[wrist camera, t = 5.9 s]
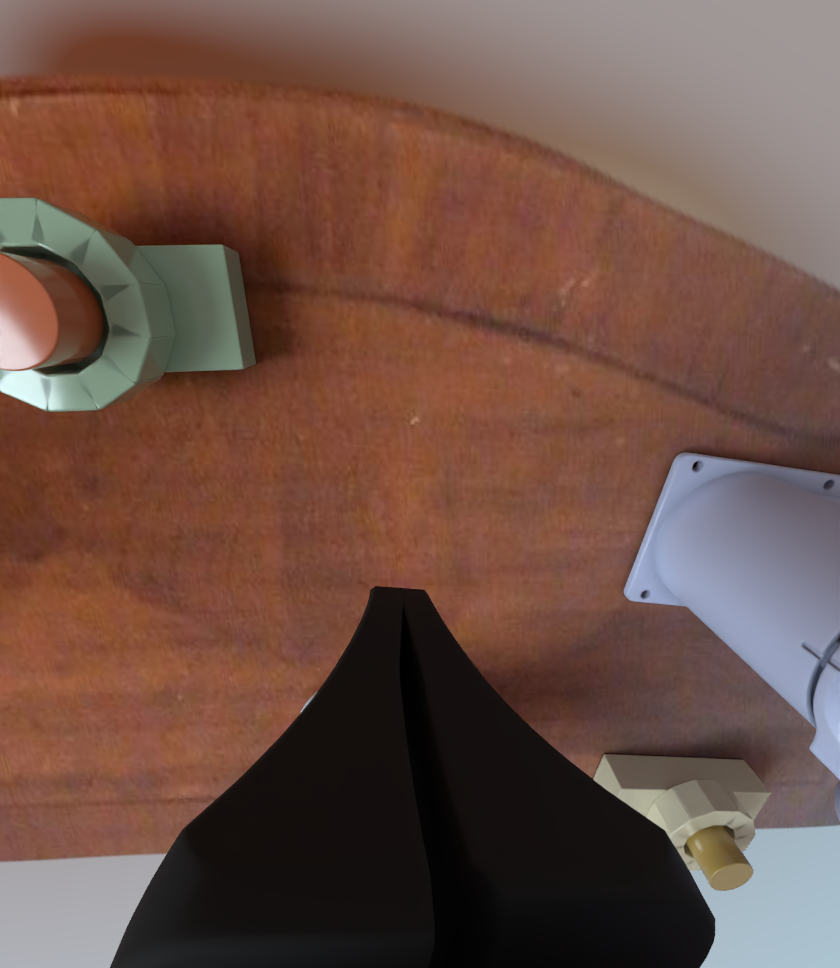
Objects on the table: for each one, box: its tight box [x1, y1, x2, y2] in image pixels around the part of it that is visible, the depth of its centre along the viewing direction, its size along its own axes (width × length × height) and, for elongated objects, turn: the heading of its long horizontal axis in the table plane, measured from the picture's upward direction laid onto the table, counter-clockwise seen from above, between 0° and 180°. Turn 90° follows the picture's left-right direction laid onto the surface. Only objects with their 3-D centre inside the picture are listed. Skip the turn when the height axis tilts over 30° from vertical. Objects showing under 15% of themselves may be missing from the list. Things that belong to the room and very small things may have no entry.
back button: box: [686, 825, 753, 891], centre depth 24 cm, size 2×2×2 cm
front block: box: [0, 198, 256, 412], centre depth 14 cm, size 10×6×4 cm, turn 92°
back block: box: [593, 754, 771, 871], centre depth 26 cm, size 10×5×4 cm, turn 81°
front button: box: [0, 252, 104, 371], centre depth 12 cm, size 3×3×2 cm
